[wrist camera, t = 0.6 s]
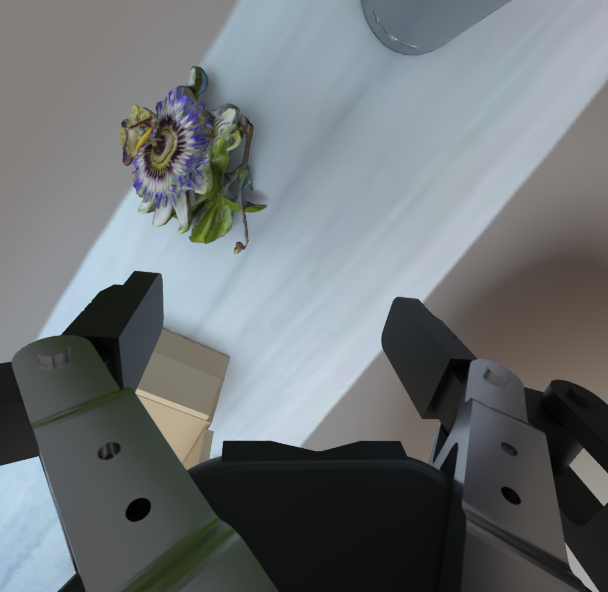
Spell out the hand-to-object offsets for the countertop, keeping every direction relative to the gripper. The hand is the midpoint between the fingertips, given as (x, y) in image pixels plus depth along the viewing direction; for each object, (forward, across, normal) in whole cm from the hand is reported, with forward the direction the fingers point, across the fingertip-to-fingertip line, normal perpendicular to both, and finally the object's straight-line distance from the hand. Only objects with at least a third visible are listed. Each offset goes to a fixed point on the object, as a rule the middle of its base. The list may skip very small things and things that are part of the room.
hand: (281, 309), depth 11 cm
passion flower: (+23, +5, -1) cm, 23 cm away
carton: (+22, +9, +22) cm, 32 cm away
